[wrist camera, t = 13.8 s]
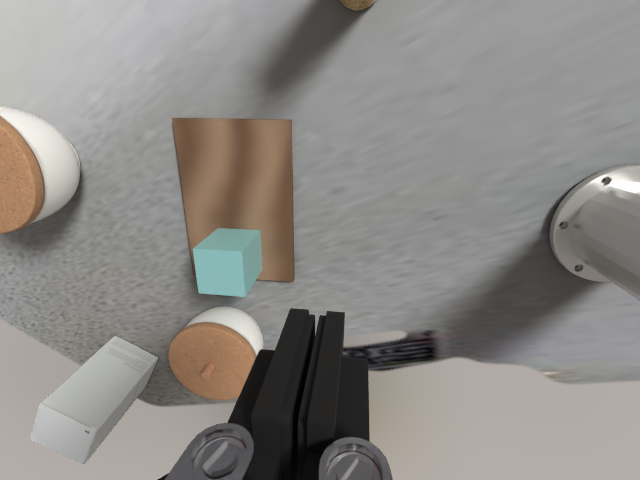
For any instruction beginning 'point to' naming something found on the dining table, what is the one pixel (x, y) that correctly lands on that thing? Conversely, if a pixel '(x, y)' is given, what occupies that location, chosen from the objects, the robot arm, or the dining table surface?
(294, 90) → the dining table surface
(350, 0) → the sprinkles bottle
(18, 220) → the lidded bowl
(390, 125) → the dining table surface
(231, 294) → the teal block
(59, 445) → the supplement box
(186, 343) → the lidded jar
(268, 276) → the walnut board
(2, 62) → the dining table surface
